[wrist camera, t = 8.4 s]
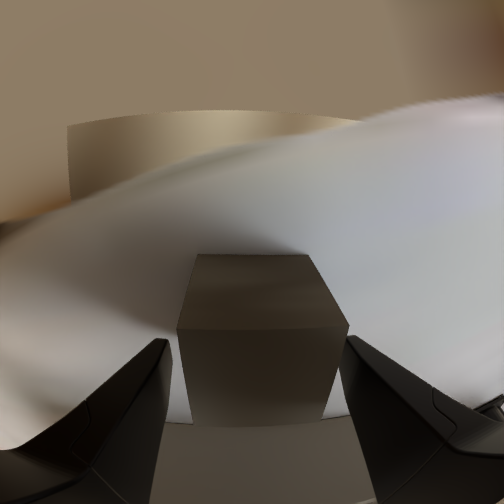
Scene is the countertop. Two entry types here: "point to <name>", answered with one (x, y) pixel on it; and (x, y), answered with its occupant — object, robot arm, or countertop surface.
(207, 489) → the box
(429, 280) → the countertop surface
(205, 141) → the cover plate
